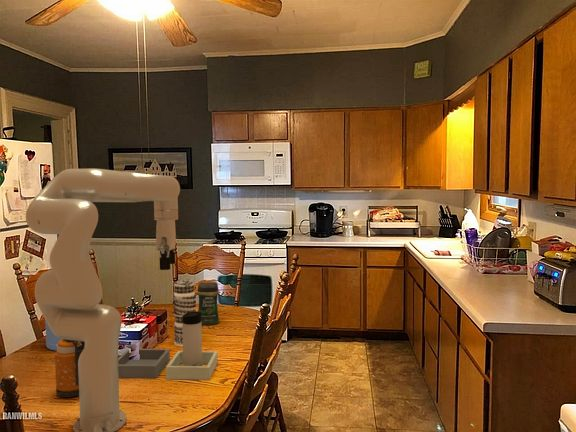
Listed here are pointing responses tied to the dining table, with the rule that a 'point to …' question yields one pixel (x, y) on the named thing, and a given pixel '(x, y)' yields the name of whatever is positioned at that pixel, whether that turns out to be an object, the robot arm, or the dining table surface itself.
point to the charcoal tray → (143, 363)
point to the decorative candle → (182, 306)
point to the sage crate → (192, 367)
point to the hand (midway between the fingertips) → (167, 266)
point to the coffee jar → (208, 303)
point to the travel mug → (192, 339)
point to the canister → (67, 367)
